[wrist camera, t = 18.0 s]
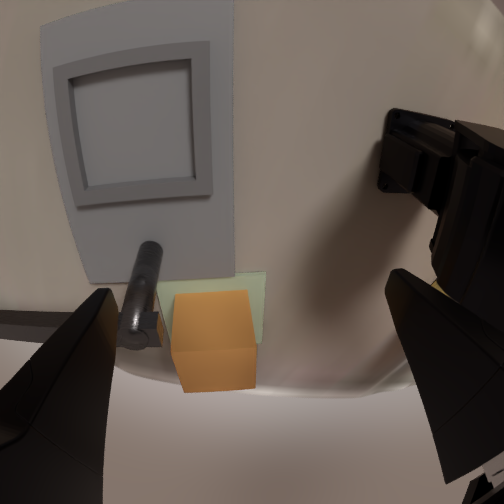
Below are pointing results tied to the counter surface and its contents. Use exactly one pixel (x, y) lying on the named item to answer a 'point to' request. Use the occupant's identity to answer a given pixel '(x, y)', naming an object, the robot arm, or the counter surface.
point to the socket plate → (144, 134)
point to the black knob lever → (129, 319)
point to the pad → (240, 282)
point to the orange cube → (214, 341)
